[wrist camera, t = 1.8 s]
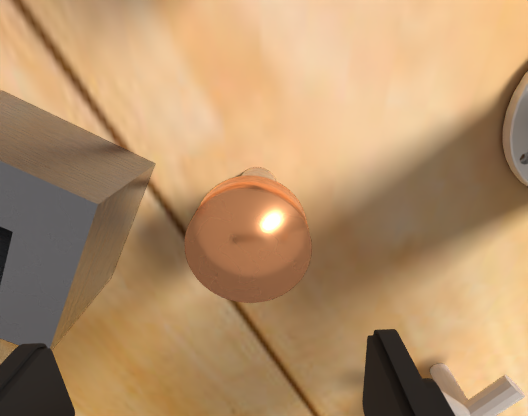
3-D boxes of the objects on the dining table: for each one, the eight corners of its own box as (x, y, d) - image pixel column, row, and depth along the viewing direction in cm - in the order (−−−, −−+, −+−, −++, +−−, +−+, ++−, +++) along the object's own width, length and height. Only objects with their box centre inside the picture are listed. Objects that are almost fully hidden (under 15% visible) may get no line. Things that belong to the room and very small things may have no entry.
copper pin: (311, 169, 25) (336, 225, 16) (274, 234, 28) (274, 319, 18) (238, 132, 24) (215, 166, 15) (205, 202, 27) (166, 273, 17)
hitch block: (155, 163, 26) (98, 204, 17) (111, 277, 30) (47, 355, 21) (2, 90, 24) (-145, 96, 15) (-23, 222, 28) (-150, 283, 20)
